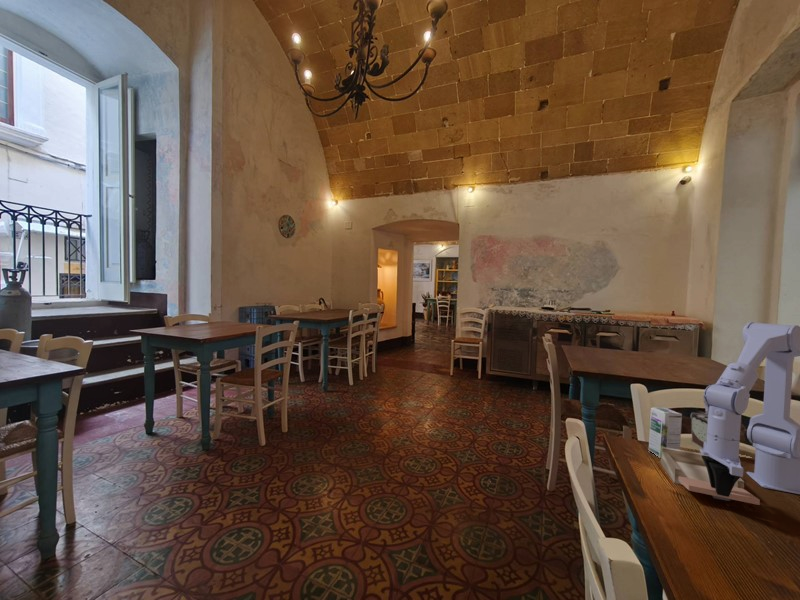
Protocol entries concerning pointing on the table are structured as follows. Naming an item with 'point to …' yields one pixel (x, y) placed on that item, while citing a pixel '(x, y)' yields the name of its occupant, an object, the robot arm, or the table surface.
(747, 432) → the robot arm
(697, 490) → the panel
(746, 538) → the table surface
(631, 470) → the table surface
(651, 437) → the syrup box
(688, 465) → the tray
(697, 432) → the food container
